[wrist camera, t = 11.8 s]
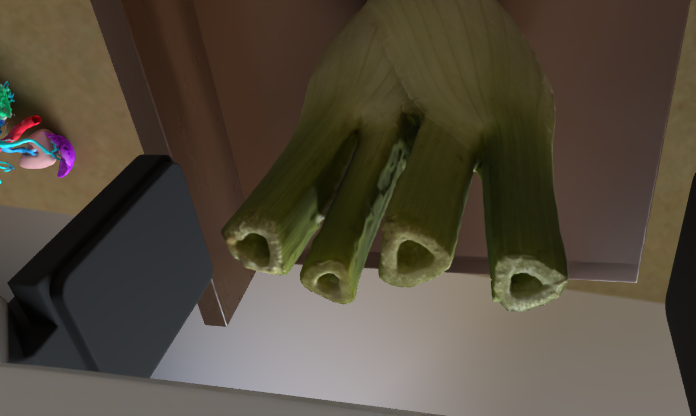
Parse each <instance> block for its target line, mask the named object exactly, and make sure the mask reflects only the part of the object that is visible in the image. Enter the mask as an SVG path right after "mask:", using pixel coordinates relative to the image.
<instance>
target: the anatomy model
mask: <svg viewBox="0 0 696 416" xmlns="http://www.w3.org/2000/svg"><path fill="white" fill-rule="evenodd" d="M7 82H8V80H7V81H6V82H5V83H4V85H3V86H2V85H1V84H0V129H1V126H3V125H5V124H4V121H5V119H7V118H11V115H12V113H11V111H12V109H11V108H10V103H11V102H12V101H13V102H15V100H13V99H12V98H13V96H14V92H13V94H12V95H11V92H9V91H11V90H10V89H9V88H8V85H9V83H8V85H7V87H6V89H4V86H5V84H6V83H7ZM6 92H7V93H6ZM10 95H11V96H10ZM11 97H12V98H11ZM8 98H11V100H8ZM5 99H6V100H5ZM13 117H14V116H13ZM40 118H41V117H40V116H37V115H34V116H30V117H27V118H26V119H24V120H23V121H21V123H19V124H16V125H15V126H14V127H13V128H12V129H11V131H10V132H9V133H8V134H7V136H6V137H5V138H3V139H1V140H2V141H1V140H0V152H1V151H4V152H7V153H11V152H22V153H23V154H22V155H21V157H20V159H19V161H18V163H19V165H20V166H21V167H24V168H27V169H41V168H46V167H47V166H50V165H53V164H54V163H55V161H56V159H57V160H60V159H59V158H57V157H58V155H59V154H58V153H59V150H60V153H61V155H59V156H61V158H62V159H61V160H60V165H59V170H58V174H57V175H58V177H64V176H65V175H66V174H68V173H69V171H70V170H71V168H72V166H73V163H74V160H75V153H74V148H73V146H72V145H71V143H70V142H69V141H68V140H67V139H66V137H64V136H62V135H56V136H55V134H53V133H52V132H51V131H50V130H48V129H40V130H37V131H35V132H34V133H32V134H31V135H30V136H29V137H28V138H26V139H22V140H20V141H17V142H16V140H17V139H18V138H19V137H20V136H21V135H22V134H23V132H24V131H25V130H26V129H27V128H30V127H31V126H34V125H37V124H39V123H40V122H41V120H42V119H40ZM8 123H9V122H8ZM8 123H7V124H8ZM12 126H13V125H12ZM5 131H6V127H5ZM1 133H2V131H1V130H0V134H1ZM6 133H7V132H6ZM26 142H27V143H28V144H29V146H27V147H20V148H15V149H9V148H13V147H14V146H17V145H20V144H23V143H26ZM8 147H9V148H8ZM0 163H3V164H8V165H9V166H10V167H5V168H4V167H2V166H0V168H1V169H8V168H9V170H4V171H5V172H7V171H10V170H11V167H12V168H13V169H14V167H13V166H12V165H10V164H9V163H8V162H1V161H0ZM14 170H15V169H14ZM1 183H2V182H1V181H0V184H1Z"/></svg>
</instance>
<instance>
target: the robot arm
mask: <svg viewBox="0 0 696 416" xmlns="http://www.w3.org/2000/svg"><path fill="white" fill-rule="evenodd" d="M212 275H213V265H212V262H211V258H210V255H209V252H208V249H207V246H206V243H205V239H204V236H203V233H202V230H201V227H200V224H199V221H198V217H197V214H196V211H195V208H194V205H193V202H192V198H191V195H190V192H189V189H188V186H187V183H186V179H185V176H184V173H183V170H182V168H181V166H180V164H179V163H177V162H174V160H173V159H172V158H171V156H169V155H146V154H144V155H139V156H138V157H136V158H135V159H134V160H133V161H132V162H131V163H130V164H129V165H128V166H127V167H126V168H125V169H124V170H123V171H122V172H121V173H120V174H119V175H118V176H117V177H116V178H115V179H114V180H113V181H112V182H111V183H110V184H109V185H108V186H107V187H105V188H104V189H103V190H102V191H101V192H100V193H99V194H98V195H97V196H96V197H95V198H94V199H93V200H92V201H91V202H90V203H89V204H88V205H87V206H86V207H85V208H84V209H83V210H82V211H81V212H80V213H79V214H78V215H77V216H76V217H75V218H74V219H72V221H70V222H69V223H68V224H67V225H66V226H65V227H64V228H63V229H62V230H61V231H60V232H59V233H58V234H57V235H56V236H55V237H54V238H53V239H52V240H51V241H50V242H49V243H48V244H47V245H46V246H45V247H44V248H43V249H42V250H41V251H39V253H37V254H36V255H35V256H34V257H33V259H31V260H30V261H29V262H28V263H27V264H26V265H25V266H24V267H23V268H22V269H21V270H20V271H19V272H18V273H17V274H16V275H15V276H14V277H13V278H12V279H11V280H10V281H9V282H8V285H9V287H10V288H11V290H12V292H13V294H14V296H15V297H14V298H13V299H12V300H11V301H10V302H9V303H7V301H6V300H5V299H4V298H3V297H1V296H0V416H443V415H436V414H429V413H421V412H414V411H406V410H398V409H391V408H383V407H375V406H367V405H360V404H352V403H343V402H335V401H328V400H321V399H312V398H305V397H296V396H289V395H281V394H273V393H265V392H257V391H249V390H241V389H233V388H225V387H217V386H209V385H200V384H193V383H192V384H191V383H184V382H176V381H167V380H158V379H151V378H150V376H151V375H152V373H153V372H154V370H155V369H156V367H157V365H158V364H159V362H160V361H161V359H162V357H163V356H164V354H165V353H166V351H167V349H168V348H169V346H170V345H171V343H172V342H173V340H174V338H175V337H176V335H177V334H178V332H179V330H180V329H181V327H182V326H183V324H184V323H185V321H186V319H187V318H188V316H189V315H190V313H191V312H192V310H193V308H194V307H195V305H196V304H197V302H198V301H199V299H200V297H201V296H202V294H203V293H204V291H205V289H206V288H207V286H208V285H209V283H210V281H211V279H212ZM665 306H666V307H665V309H666V317H667V321H668V325H669V329H670V332H671V336H672V341H673V345H674V349H675V353H676V357H677V361H678V364H679V369H680V373H681V377H682V381H683V385H684V389H685V393H686V397H687V401H688V405H689V408H690V413H691V416H696V173H695V175H694V177H693V181H692V185H691V189H690V194H689V198H688V202H687V207H686V211H685V216H684V220H683V224H682V229H681V233H680V237H679V242H678V246H677V250H676V255H675V259H674V264H673V268H672V272H671V277H670V281H669V285H668V290H667V294H666V303H665Z"/></svg>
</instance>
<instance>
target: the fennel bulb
mask: <svg viewBox="0 0 696 416" xmlns="http://www.w3.org/2000/svg"><path fill="white" fill-rule="evenodd" d="M555 110H556V108H555V101H554V96H553V91H552V87H551V84H550V83H549V81H548V79H547V76H546V75H545V72H544V70H543V69H542V67H541V64H540V62H539V60H538V59H537V57H536V53H535V52H533V51H532V48H531V45H530V43H529V41H528V40H527V39H526V38H525V36H524V35H523V33H522V31H521V30H520V28H519V26H518V25H517V24H516V23H515V22H514V20H513V18H512V17H511V15H510V14H509V13H508V12H507V11H505V10H504V8H503V7H502V6H501V4H500V3H499V2H498V1H497V0H367V2H366V3H365V5H364V6H363V7H362V8H361V9H360V10H359V11H358V12H356V13H355V14H353V15H352V16H351V17H350V18H349V19H348V21H346V23H345V24H344V25H343V26H342V27H341V28H340V30H339V31H338V32H337V34H336V35H335V36H334V38H333V39H332V41H331V42H330V43H329V44H328V45H327V47H326V48H325V50H324V52H323V53H322V54H321V56H320V58H319V60H318V61H317V63H316V65H315V66H314V69H313V72H312V74H311V77H310V79H309V83H308V87H307V92H306V95H305V101H304V104H303V108H302V111H301V116H300V119H299V123H298V125H297V127H296V128H295V130H294V132H293V136H292V137H291V139H290V141H289V143H288V145H287V146H286V147H285V149H284V150H283V152H282V153H281V155H280V156H279V157H278V159H277V160H276V161H275V162H274V164H273V165H272V167H271V168H270V170H269V171H268V173H267V174H266V175H265V176H264V177H263V179H262V180H261V182H260V183H259V184H258V185H257V187H256V188H255V189H254V190H253V192H252V193H251V194H250V196H249V197H248V198H247V200H246V201H245V202H244V203H243V204H242V206H241V207H240V208H239V209H238V210H237V212H236V213H235V214H234V215H233V216H232V217H231V218H230V220H229V221H228V222H227V223H226V224H225V225H224V227H223V228H222V230H221V234H222V236H223V239H224V242H225V244H226V246H227V248H228V250H229V253H230V254H231V255H232V256H233V257H234V258H236V259H238V260H239V261H241V262H242V264H243V266H244V267H245V268H248V269H252V270H255V271H261V272H267V273H271V274H278V275H286V274H287V273H288V272H289V271H290V270H291V268H292V267H293V265H294V264H295V262H296V261H297V259H298V258H299V256H300V255H301V253H302V251H303V250H304V248H305V247H306V245H307V244H308V241H309V240H310V239H311V237H312V236H313V234H314V233H315V232H316V230H317V229H319V228H320V227H321V226H320V224H321V221H322V219H324V222H323V225H322V227H321V229H320V231H319V233H318V234H317V235H316V237H315V238H314V239H313V241H312V245H311V249H310V252H309V254H308V256H307V258H306V259H305V261H304V263H303V266H302V270H301V272H300V280H301V283H302V284H303V285H304V287H305V288H307V289H308V290H310V291H311V292H314V293H317V294H319V295H321V296H322V297H324V298H326V299H329V300H331V301H333V302H336V303H341V304H347V303H350V302H352V301H354V299H355V296H356V290H357V285H358V282H359V279H360V275H361V272H362V270H363V268H364V264H365V262H366V258H367V255H368V252H369V250H370V247H371V245H372V242H373V239H374V238H375V236H376V233H377V230H378V228H379V226H380V221H381V219H382V217H383V216H384V213H385V210H386V208H387V211H386V215H385V218H384V220H383V222H382V226H381V228H382V231H383V238H382V244H381V255H380V261H379V267H378V269H379V277H380V279H382V280H383V281H384V282H386V283H388V284H391V285H394V286H397V287H413V286H415V285H417V284H420V283H423V282H426V281H428V280H430V279H434V278H436V277H437V276H439V275H440V274H441V273H443V272H444V271H446V270H447V269H449V267H450V265H451V263H452V260H453V257H454V252H455V247H456V245H457V241H458V235H459V230H460V228H461V224H462V215H463V212H464V208H465V205H466V202H467V198H468V195H469V190H470V186H471V183H472V178H473V175H474V172H473V171H475V172H476V173H477V174H478V176H479V178H480V179H481V180H482V186H483V205H484V222H485V236H486V243H487V251H488V263H489V266H490V275H491V279H492V281H491V289H492V297H493V301H494V302H499V303H501V305H502V306H504V307H505V308H506V310H507V311H510V312H511V311H517V312H518V311H528V310H530V309H531V308H533V307H537V306H542V305H546V304H547V303H549V302H550V301H552V300H554V299H556V298H558V297H559V296H560V295H561V293H562V292H563V290H564V289H565V287H566V285H567V282H568V280H569V275H568V270H567V258H566V254H565V248H564V245H563V240H562V236H561V232H560V224H559V218H558V208H557V204H556V199H555V191H554V181H553V176H554V172H553V168H554V165H553V154H552V153H553V135H554V127H555ZM403 170H404V171H403ZM395 185H396V186H395ZM394 187H395V191H394V193H393V189H394ZM392 193H393V196H392ZM388 203H389V204H388ZM387 206H388V207H387Z"/></svg>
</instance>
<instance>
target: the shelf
mask: <svg viewBox="0 0 696 416" xmlns="http://www.w3.org/2000/svg"><path fill="white" fill-rule="evenodd" d="M90 1H91V4H92V7H93V10H94V12H95V15H96V18H97V21H98V24H99V27H100V29H101V32H102V35H103V38H104V41H105V43H106V46H107V49H108V52H109V55H110V58H111V60H112V63H113V66H114V69H115V72H116V75H117V77H118V80H119V83H120V86H121V89H122V92H123V94H124V97H125V100H126V103H127V106H128V109H129V111H130V114H131V117H132V120H133V123H134V125H135V128H136V131H137V134H138V137H139V140H140V142H141V145H142V148H143V151H144V154H146V155H169V156H171V158H172V159H173V160H174V162H177V163H179V164H180V166H181V168H182V170H183V173H184V176H185V179H186V183H187V186H188V189H189V192H190V195H191V198H192V202H193V205H194V208H195V211H196V214H197V217H198V221H199V224H200V227H201V230H202V233H203V236H204V239H205V243H206V246H207V249H208V252H209V255H210V258H211V262H212V265H213V275H212V279H211V281H210V283H209V285H208V286H207V288H206V289H205V291H204V293H203V294H202V296H201V297H200V299H199V301H198V302H197V303H198V306H199V309H200V312H201V315H202V318H203V320H204V323H205V325H211V326H224V327H226V326H227V325H228V324H229V322H230V320H231V318H232V316H233V314H234V312H235V310H236V309H237V307H238V305H239V303H240V301H241V299H242V297H243V295H244V293H245V291H246V289H247V288H248V286H249V284H250V282H251V280H252V278H253V276H254V274H255V272H256V271H255V270H252V269H248V268H245V267H244V266H243V264H242V262H241V261H239V260H238V259H236V258H234V257H233V256H232V255H231V254H230V253H229V250H228V248H227V246H226V244H225V242H224V239H223V236H222V234H221V230H222V228H223V227H224V225H225V224H226V223H227V222H228V221H229V220H230V218H231V217H232V216H233V215H234V214H235V213H236V212H237V210H238V209H239V208H240V207H241V206H242V204H243V203H244V202H245V201H246V200H247V198H248V197H249V196H250V194H251V193H252V192H253V190H254V189H255V188H256V187H257V185H258V184H259V183H260V182H261V180H262V179H263V177H264V176H265V175H266V174H267V173H268V171H269V170H270V168H271V167H272V165H273V164H274V162H275V161H276V160H277V159H278V157H279V156H280V155H281V153H282V152H283V150H284V149H285V147H286V146H287V145H288V143H289V141H290V139H291V137H292V136H293V132H294V130H295V128H296V127H297V125H298V123H299V119H300V116H301V111H302V108H303V104H304V101H305V95H306V92H307V87H308V83H309V79H310V77H311V74H312V72H313V69H314V66H315V65H316V63H317V61H318V60H319V58H320V56H321V54H322V53H323V52H324V50H325V48H326V47H327V45H328V44H329V43H330V42H331V41H332V39H333V38H334V36H335V35H336V34H337V32H338V31H339V30H340V28H341V27H342V26H343V25H344V24H345V23H346V21H348V19H349V18H350V17H351V16H352V15H353V14H355V13H356V12H358V11H359V10H360V9H361V8H362V7H363V6H364V5H365V3H366V2H367V0H90ZM497 1H498V2H499V3H500V4H501V6H502V7H503V8H504V10H505V11H507V12H508V13H509V14H510V15H511V17H512V18H513V20H514V22H515V23H516V24H517V25H518V26H519V28H520V30H521V31H522V33H523V35H524V36H525V38H526V39H527V40H528V41H529V43H530V45H531V48H532V51H533V52H535V53H536V57H537V59H538V60H539V62H540V64H541V67H542V69H543V70H544V72H545V75H546V76H547V79H548V81H549V83H550V84H551V87H552V91H553V96H554V101H555V108H556V110H555V127H554V135H553V153H552V154H553V165H554V168H553V172H554V176H553V181H554V191H555V199H556V204H557V208H558V218H559V224H560V232H561V236H562V240H563V245H564V248H565V254H566V258H567V270H568V275H569V279H579V280H597V281H616V282H635V283H636V282H637V279H638V274H639V269H640V264H641V257H642V252H643V247H644V242H645V237H646V231H647V226H648V221H649V216H650V210H651V205H652V200H653V195H654V189H655V184H656V179H657V174H658V169H659V163H660V158H661V153H662V148H663V142H664V137H665V132H666V127H667V121H668V116H669V111H670V106H671V101H672V95H673V90H674V85H675V80H676V74H677V69H678V64H679V59H680V53H681V48H682V43H683V38H684V33H685V27H686V22H687V17H688V12H689V6H690V1H691V0H497ZM403 171H404V170H403ZM473 172H474V175H473V178H472V183H471V186H470V190H469V195H468V198H467V202H466V205H465V208H464V212H463V215H462V224H461V228H460V230H459V235H458V241H457V245H456V247H455V252H454V257H453V260H452V263H451V265H450V267H449V269H447V270H446V271H444V272H448V273H467V274H485V275H490V266H489V263H488V251H487V243H486V236H485V222H484V205H483V186H482V180H481V179H480V178H479V176H478V174H477V173H476V172H475V171H473ZM395 186H396V185H395ZM394 191H395V187H394V189H393V193H394ZM393 193H392V196H393ZM388 204H389V203H388ZM387 207H388V206H387ZM386 211H387V208H386V210H385V213H384V216H383V217H382V219H381V221H380V226H379V228H378V230H377V233H376V236H375V238H374V239H373V242H372V245H371V247H370V250H369V252H368V255H367V258H366V262H365V264H364V268H373V269H374V268H375V269H378V267H379V261H380V255H381V244H382V238H383V231H382V228H381V226H382V222H383V220H384V218H385V215H386ZM323 222H324V219H322V221H321V224H320V226H321V227H322V225H323ZM321 227H320V228H319V229H317V230H316V232H315V233H314V234H313V236H312V237H311V239H310V240H309V241H308V244H307V245H306V247H305V248H304V250H303V251H302V253H301V255H300V256H299V258H298V259H297V261H296V262H295V264H298V265H303V263H304V261H305V259H306V258H307V256H308V254H309V252H310V249H311V245H312V241H313V239H314V238H315V237H316V235H317V234H318V233H319V231H320V229H321Z"/></svg>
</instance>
